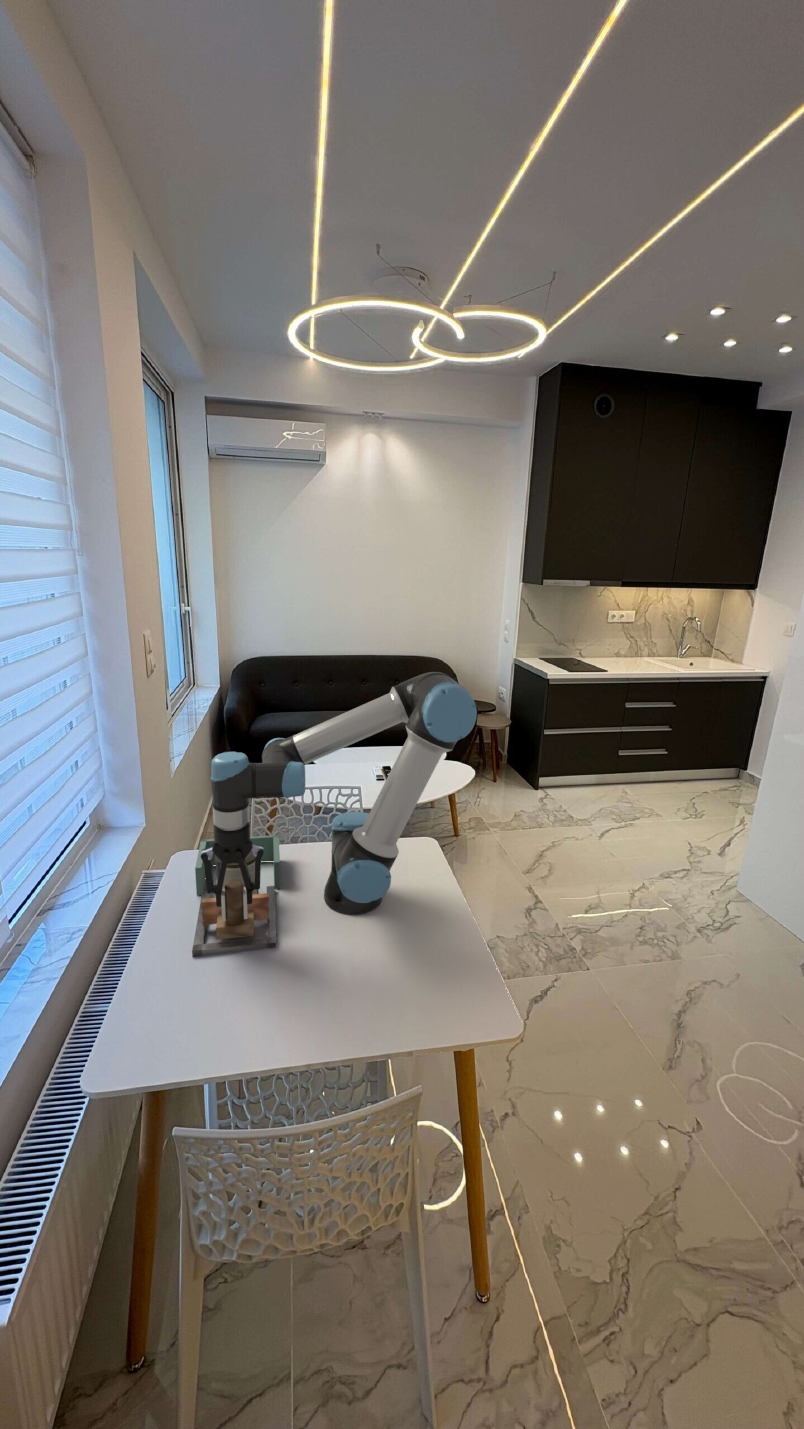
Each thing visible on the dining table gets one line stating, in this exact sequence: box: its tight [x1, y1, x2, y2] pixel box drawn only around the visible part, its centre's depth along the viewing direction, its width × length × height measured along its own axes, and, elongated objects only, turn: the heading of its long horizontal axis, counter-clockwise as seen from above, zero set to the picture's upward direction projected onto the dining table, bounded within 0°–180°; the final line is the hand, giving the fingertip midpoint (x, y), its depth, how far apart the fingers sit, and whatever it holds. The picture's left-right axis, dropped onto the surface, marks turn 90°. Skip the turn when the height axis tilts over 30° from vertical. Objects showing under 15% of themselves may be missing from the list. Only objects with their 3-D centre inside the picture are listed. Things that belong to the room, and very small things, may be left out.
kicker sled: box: [202, 881, 269, 940], centre depth 134 cm, size 15×7×12 cm, turn 103°
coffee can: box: [215, 851, 260, 894], centre depth 146 cm, size 10×10×14 cm
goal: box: [194, 834, 281, 896], centre depth 158 cm, size 21×15×8 cm
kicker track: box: [191, 885, 277, 958], centre depth 141 cm, size 18×23×2 cm
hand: (235, 916), depth 133 cm, fingers closed on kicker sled, 4 cm apart
